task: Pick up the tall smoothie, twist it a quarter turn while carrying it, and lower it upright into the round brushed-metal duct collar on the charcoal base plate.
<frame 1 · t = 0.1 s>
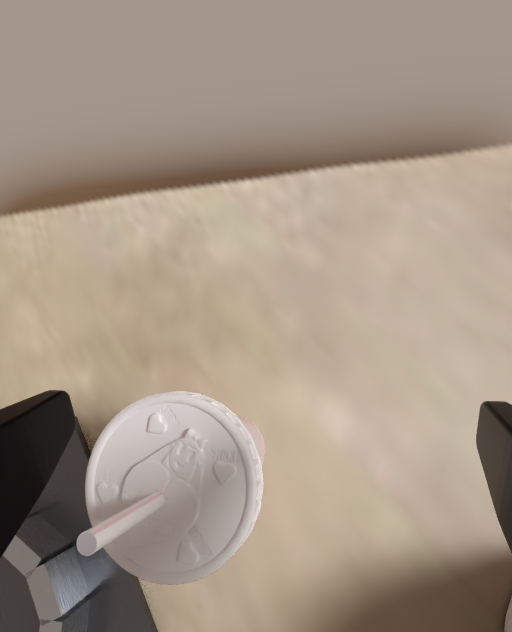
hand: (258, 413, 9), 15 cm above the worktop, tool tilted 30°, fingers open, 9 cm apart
smoothie: (233, 448, 24), on the worktop
duct collar: (8, 606, 25), on the worktop
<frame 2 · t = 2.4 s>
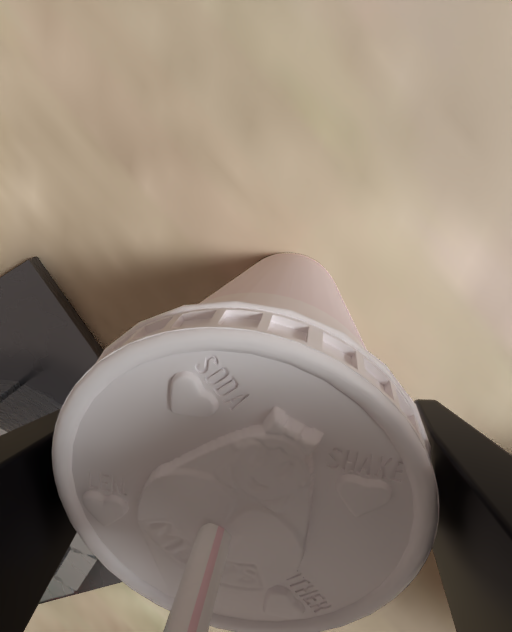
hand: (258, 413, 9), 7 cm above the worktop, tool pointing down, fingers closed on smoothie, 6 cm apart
smoothie: (288, 299, 16), on the worktop, touching gripper
duct collar: (23, 467, 21), on the worktop
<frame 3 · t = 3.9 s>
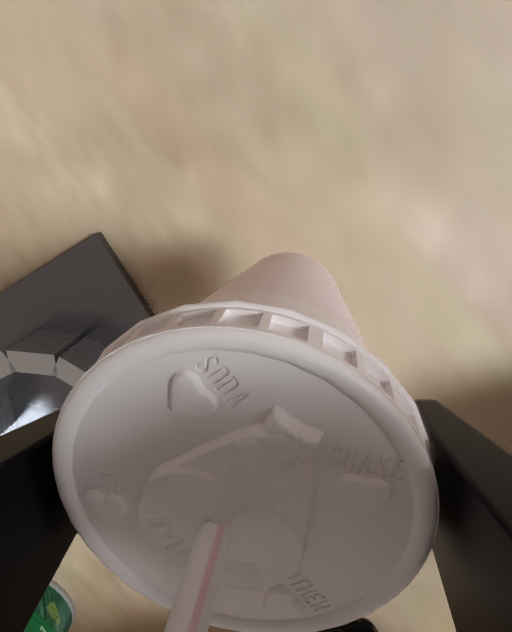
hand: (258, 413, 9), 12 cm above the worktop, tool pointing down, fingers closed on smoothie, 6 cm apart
smoothie: (288, 299, 16), point 5 cm above the worktop, touching gripper
canned tomato: (31, 597, 34), on the worktop
duct collar: (78, 409, 26), on the worktop
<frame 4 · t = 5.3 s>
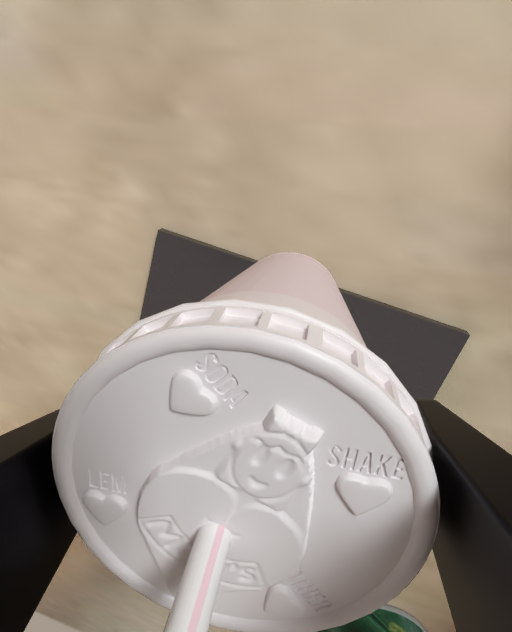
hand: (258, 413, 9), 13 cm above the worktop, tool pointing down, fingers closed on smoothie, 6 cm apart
smoothie: (288, 299, 16), point 6 cm above the worktop, touching gripper
duct collar: (265, 404, 24), on the worktop
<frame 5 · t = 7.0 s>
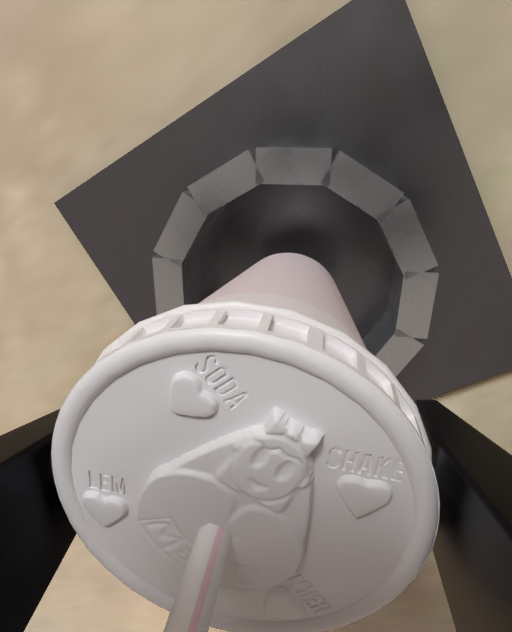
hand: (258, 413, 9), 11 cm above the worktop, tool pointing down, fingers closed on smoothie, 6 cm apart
smoothie: (288, 299, 16), point 4 cm above the worktop, touching gripper
duct collar: (293, 275, 19), on the worktop
when the fingers open (8 cm above the worktop, at t = 8.4 s): smoothie stays where it is, resting on duct collar.
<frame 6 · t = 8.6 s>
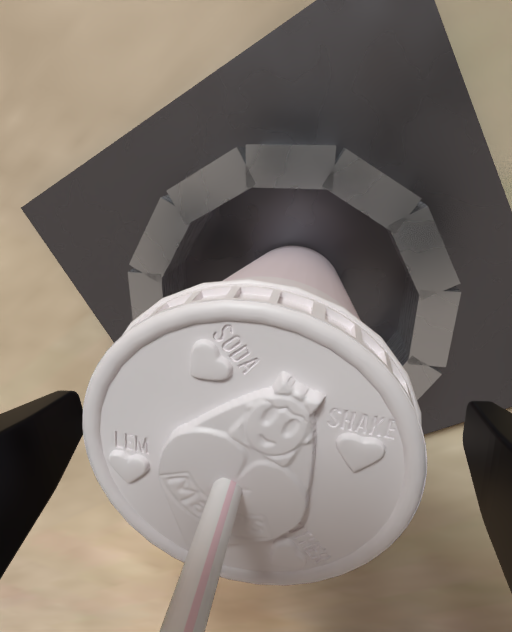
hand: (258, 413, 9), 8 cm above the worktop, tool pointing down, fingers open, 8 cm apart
smoothie: (293, 290, 17), resting on duct collar
duct collar: (291, 290, 17), on the worktop
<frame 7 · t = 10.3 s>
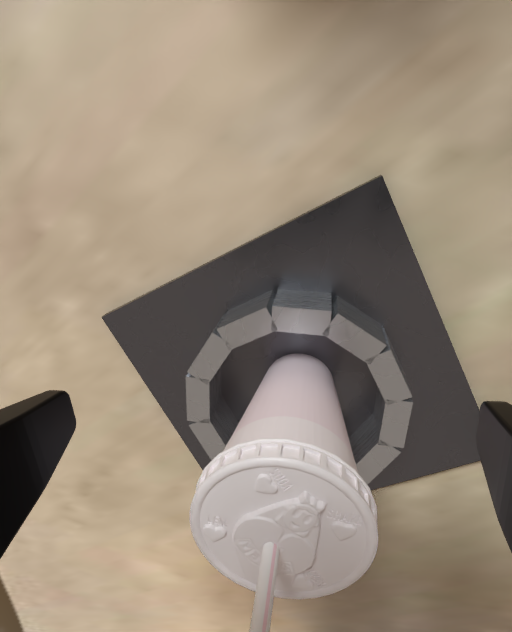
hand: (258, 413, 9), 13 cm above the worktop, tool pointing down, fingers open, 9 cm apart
smoothie: (299, 382, 23), resting on duct collar
duct collar: (297, 380, 23), on the worktop
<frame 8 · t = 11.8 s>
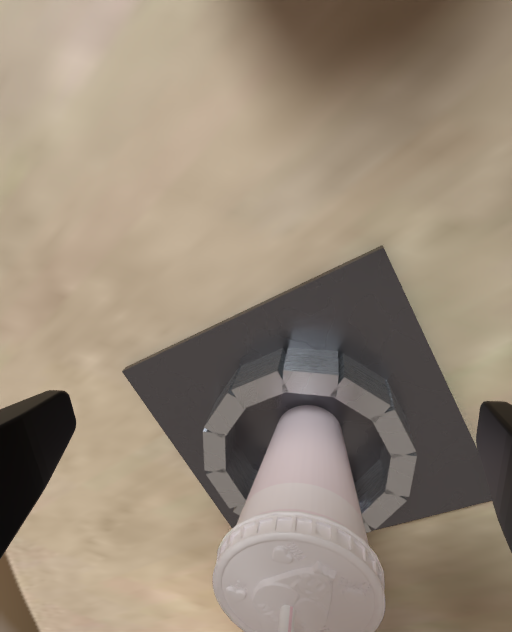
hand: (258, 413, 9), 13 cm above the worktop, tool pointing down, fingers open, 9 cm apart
smoothie: (309, 430, 24), resting on duct collar
duct collar: (307, 428, 25), on the worktop
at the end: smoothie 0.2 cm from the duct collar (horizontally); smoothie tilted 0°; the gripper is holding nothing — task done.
